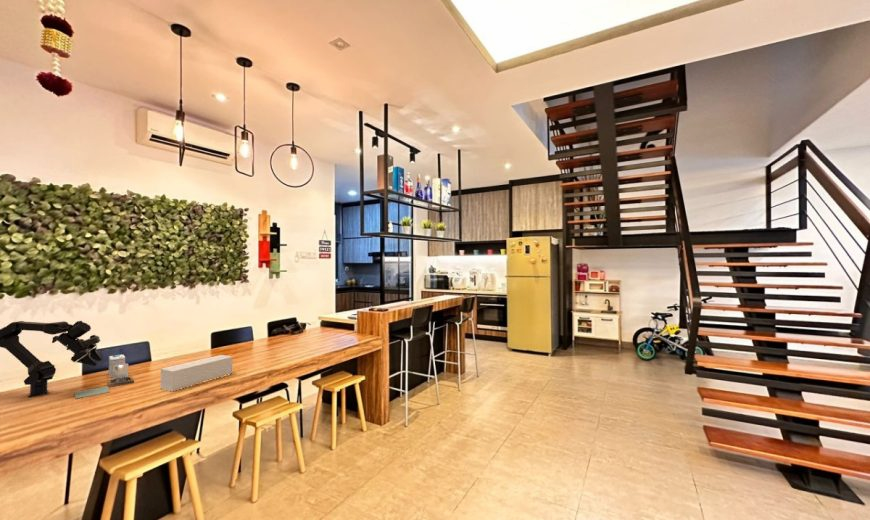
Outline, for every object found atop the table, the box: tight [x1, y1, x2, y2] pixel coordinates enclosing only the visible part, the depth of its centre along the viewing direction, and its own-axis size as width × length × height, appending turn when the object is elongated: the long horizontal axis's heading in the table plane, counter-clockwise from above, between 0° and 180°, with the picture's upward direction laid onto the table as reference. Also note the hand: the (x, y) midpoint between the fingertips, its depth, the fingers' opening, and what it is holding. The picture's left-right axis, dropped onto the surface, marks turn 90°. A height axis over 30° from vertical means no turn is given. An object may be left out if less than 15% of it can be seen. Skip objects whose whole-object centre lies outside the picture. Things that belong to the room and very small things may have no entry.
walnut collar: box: [107, 376, 135, 388], centre depth 190 cm, size 10×10×2 cm
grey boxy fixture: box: [108, 353, 126, 379], centre depth 205 cm, size 11×7×11 cm, turn 47°
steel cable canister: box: [112, 362, 129, 384], centre depth 190 cm, size 6×6×10 cm
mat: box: [74, 385, 110, 400], centre depth 175 cm, size 12×12×1 cm
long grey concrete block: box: [160, 354, 234, 392], centre depth 193 cm, size 32×11×11 cm, turn 154°
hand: (98, 362), depth 182 cm, fingers open, 9 cm apart
